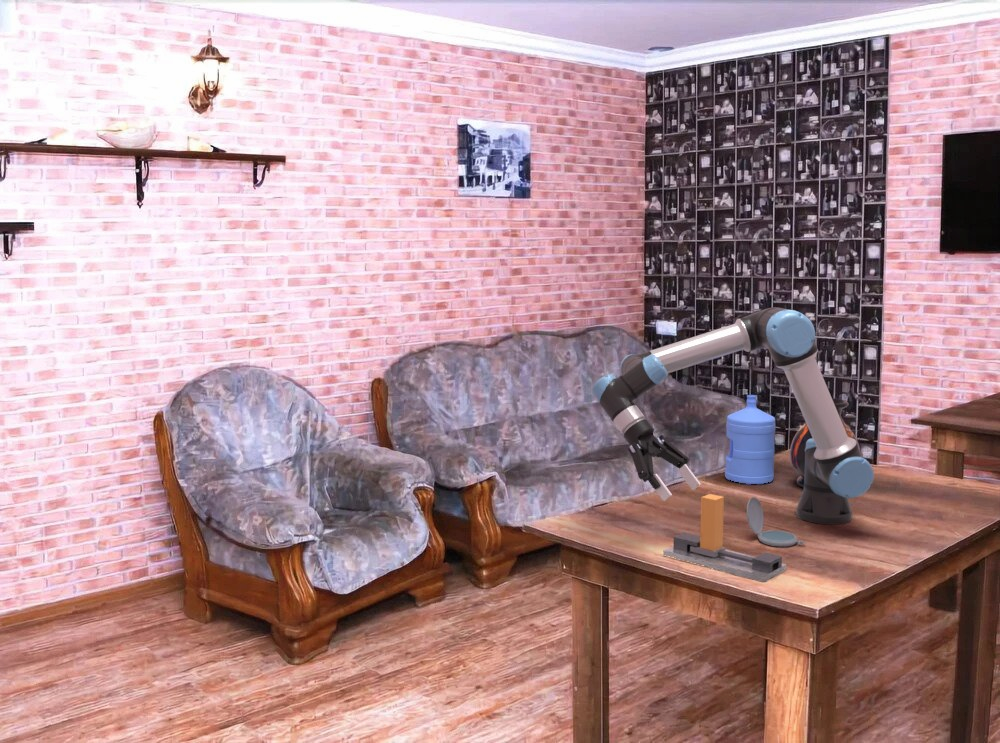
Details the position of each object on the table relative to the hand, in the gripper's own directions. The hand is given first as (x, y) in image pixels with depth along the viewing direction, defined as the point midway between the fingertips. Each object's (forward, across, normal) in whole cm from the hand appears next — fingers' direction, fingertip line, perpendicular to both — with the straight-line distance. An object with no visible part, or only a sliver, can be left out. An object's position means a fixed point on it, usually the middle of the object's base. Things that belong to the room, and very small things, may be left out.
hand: (682, 492), depth 251 cm
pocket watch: (+21, -25, -2) cm, 33 cm away
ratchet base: (+20, 0, -3) cm, 20 cm away
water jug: (-5, -79, -28) cm, 84 cm away
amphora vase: (+11, -86, -12) cm, 87 cm away
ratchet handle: (+20, 0, 0) cm, 20 cm away
